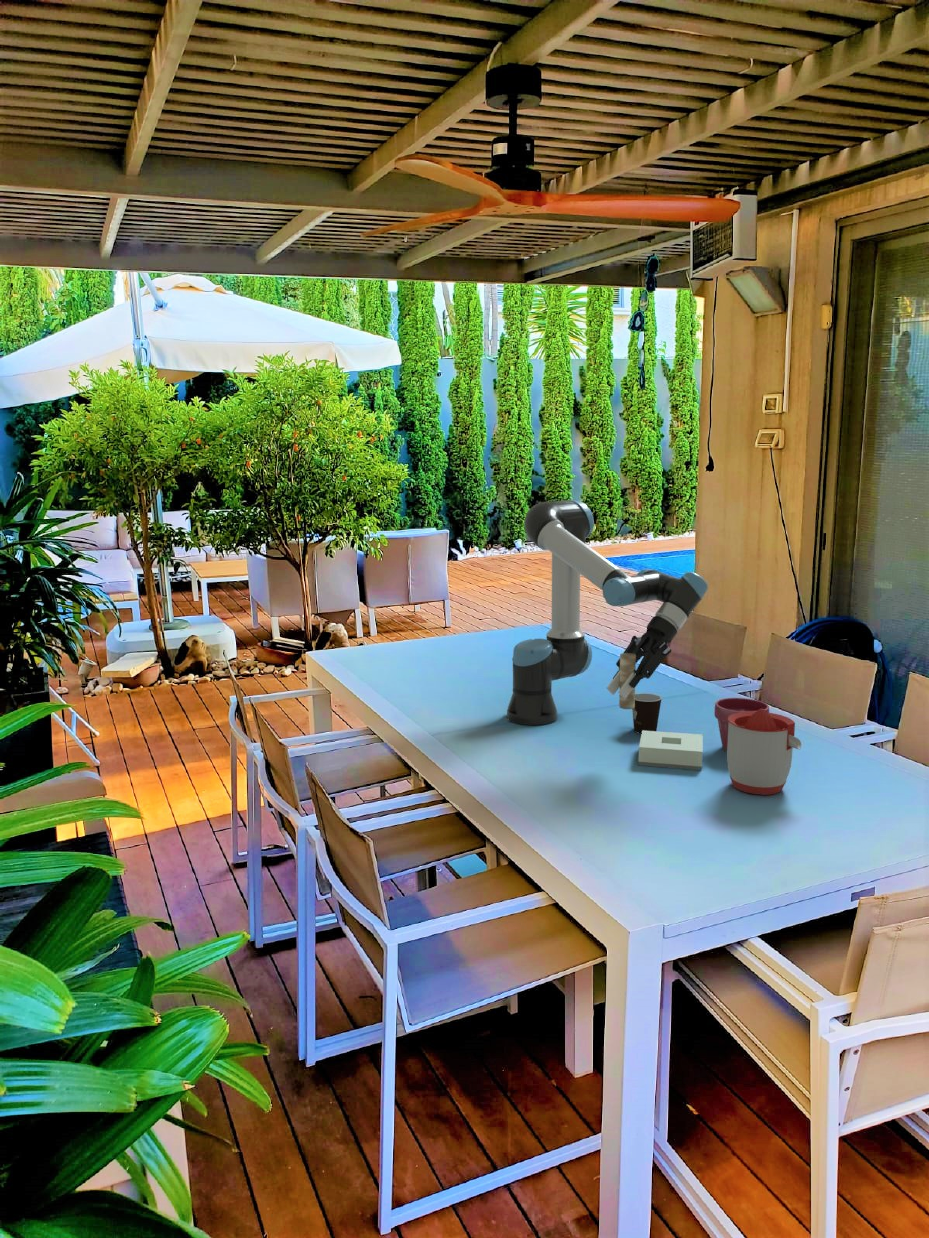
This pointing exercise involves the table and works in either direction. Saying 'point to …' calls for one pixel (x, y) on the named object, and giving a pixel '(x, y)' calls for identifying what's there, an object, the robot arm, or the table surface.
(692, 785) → the table surface
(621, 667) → the dowel
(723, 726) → the plant pot
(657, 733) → the socket block
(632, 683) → the robot arm
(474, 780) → the table surface
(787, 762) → the citrus juicer
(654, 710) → the coffee mug
